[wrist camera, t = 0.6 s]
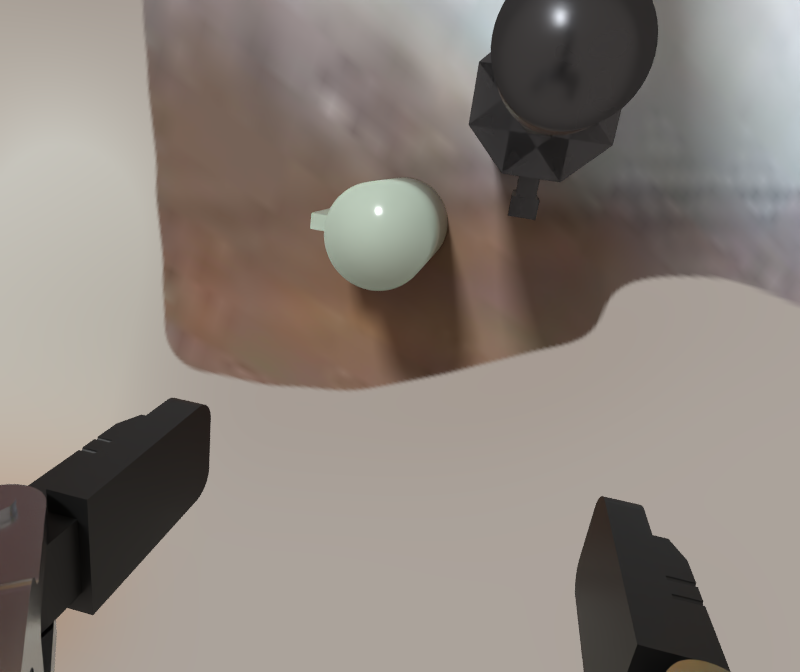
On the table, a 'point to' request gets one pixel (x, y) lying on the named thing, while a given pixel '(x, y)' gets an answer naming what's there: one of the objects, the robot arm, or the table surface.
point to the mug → (383, 231)
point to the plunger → (571, 59)
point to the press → (530, 144)
